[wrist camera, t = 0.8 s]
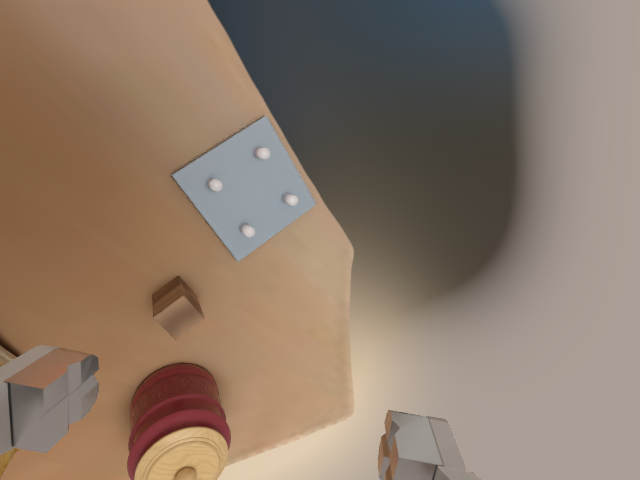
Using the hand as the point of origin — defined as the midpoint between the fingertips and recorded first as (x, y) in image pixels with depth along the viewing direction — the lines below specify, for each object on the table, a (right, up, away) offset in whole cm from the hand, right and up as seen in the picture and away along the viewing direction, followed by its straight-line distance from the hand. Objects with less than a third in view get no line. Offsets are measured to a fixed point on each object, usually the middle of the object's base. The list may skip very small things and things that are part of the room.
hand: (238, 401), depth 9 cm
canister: (-22, -21, +47) cm, 56 cm away
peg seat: (-9, +12, +44) cm, 47 cm away
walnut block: (-20, -4, +43) cm, 48 cm away
